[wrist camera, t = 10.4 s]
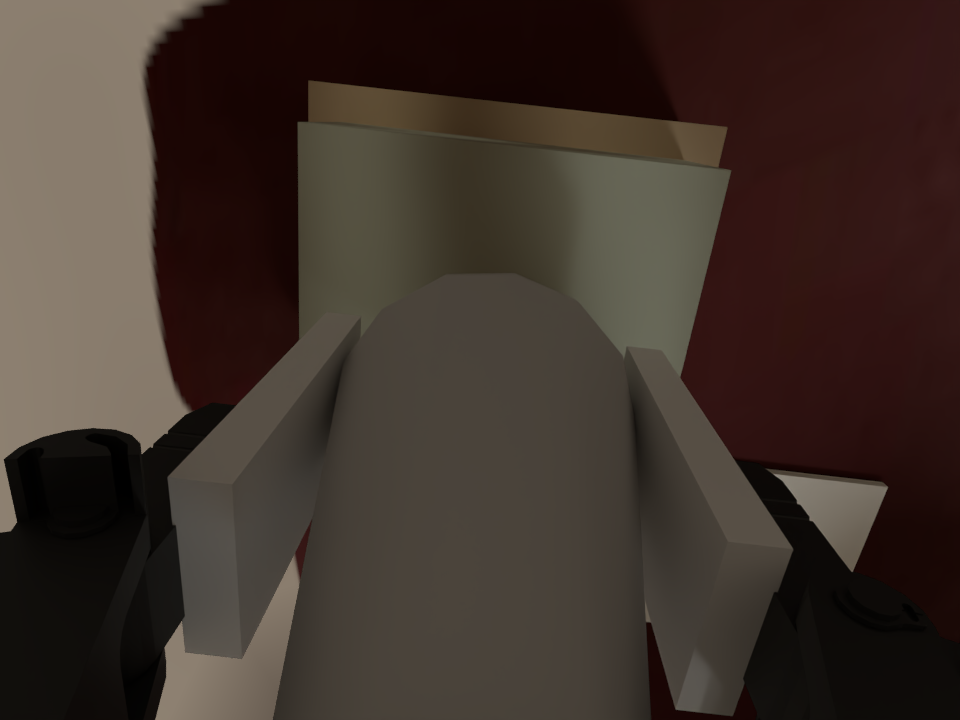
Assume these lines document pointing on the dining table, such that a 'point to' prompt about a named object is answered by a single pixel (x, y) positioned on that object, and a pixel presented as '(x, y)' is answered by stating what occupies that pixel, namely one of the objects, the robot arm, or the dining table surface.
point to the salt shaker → (475, 520)
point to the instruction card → (835, 509)
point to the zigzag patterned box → (506, 206)
